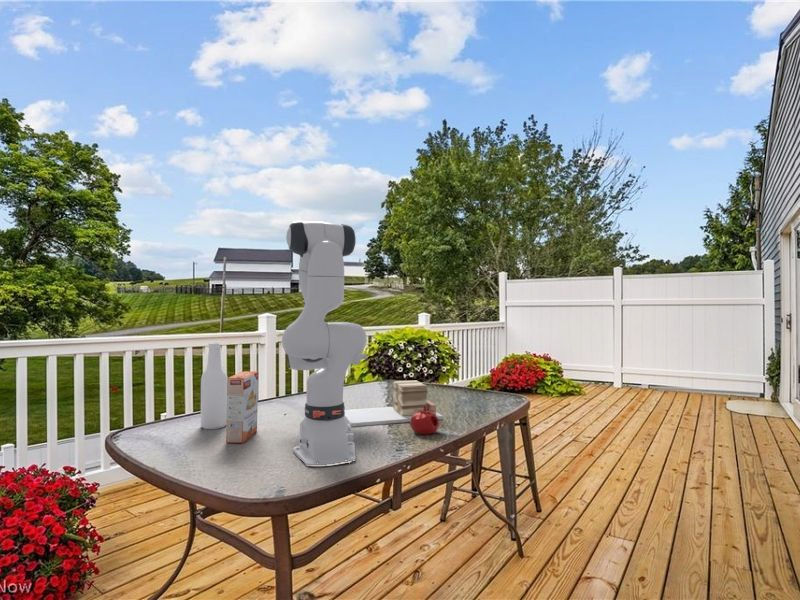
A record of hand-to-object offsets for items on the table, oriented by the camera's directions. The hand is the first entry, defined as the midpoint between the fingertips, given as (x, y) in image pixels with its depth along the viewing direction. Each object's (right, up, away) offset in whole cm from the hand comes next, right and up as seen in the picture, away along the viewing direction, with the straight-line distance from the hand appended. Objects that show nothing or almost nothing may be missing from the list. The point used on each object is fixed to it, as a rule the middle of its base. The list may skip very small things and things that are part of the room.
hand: (366, 356), depth 177 cm
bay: (+9, -24, +3) cm, 26 cm away
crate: (+17, -23, +6) cm, 29 cm away
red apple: (+22, -24, -18) cm, 37 cm away
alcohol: (-54, -24, -13) cm, 60 cm away
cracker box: (-39, -24, -25) cm, 52 cm away
